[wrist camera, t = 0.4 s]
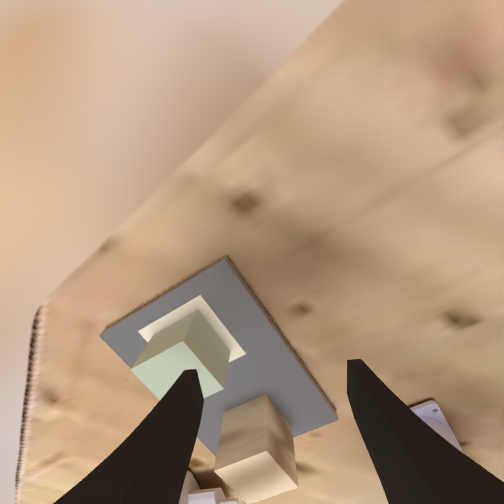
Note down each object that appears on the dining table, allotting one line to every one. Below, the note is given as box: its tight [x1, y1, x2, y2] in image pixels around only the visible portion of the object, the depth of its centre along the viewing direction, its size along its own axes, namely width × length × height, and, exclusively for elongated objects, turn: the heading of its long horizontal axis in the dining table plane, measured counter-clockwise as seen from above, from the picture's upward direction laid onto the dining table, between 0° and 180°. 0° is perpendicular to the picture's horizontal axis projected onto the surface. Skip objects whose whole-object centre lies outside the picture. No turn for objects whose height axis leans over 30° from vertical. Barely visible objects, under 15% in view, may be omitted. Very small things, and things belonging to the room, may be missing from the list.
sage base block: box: [130, 310, 231, 400], centre depth 20 cm, size 5×5×4 cm
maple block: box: [214, 394, 298, 504], centre depth 22 cm, size 5×5×5 cm
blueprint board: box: [99, 256, 338, 456], centre depth 23 cm, size 20×14×1 cm
